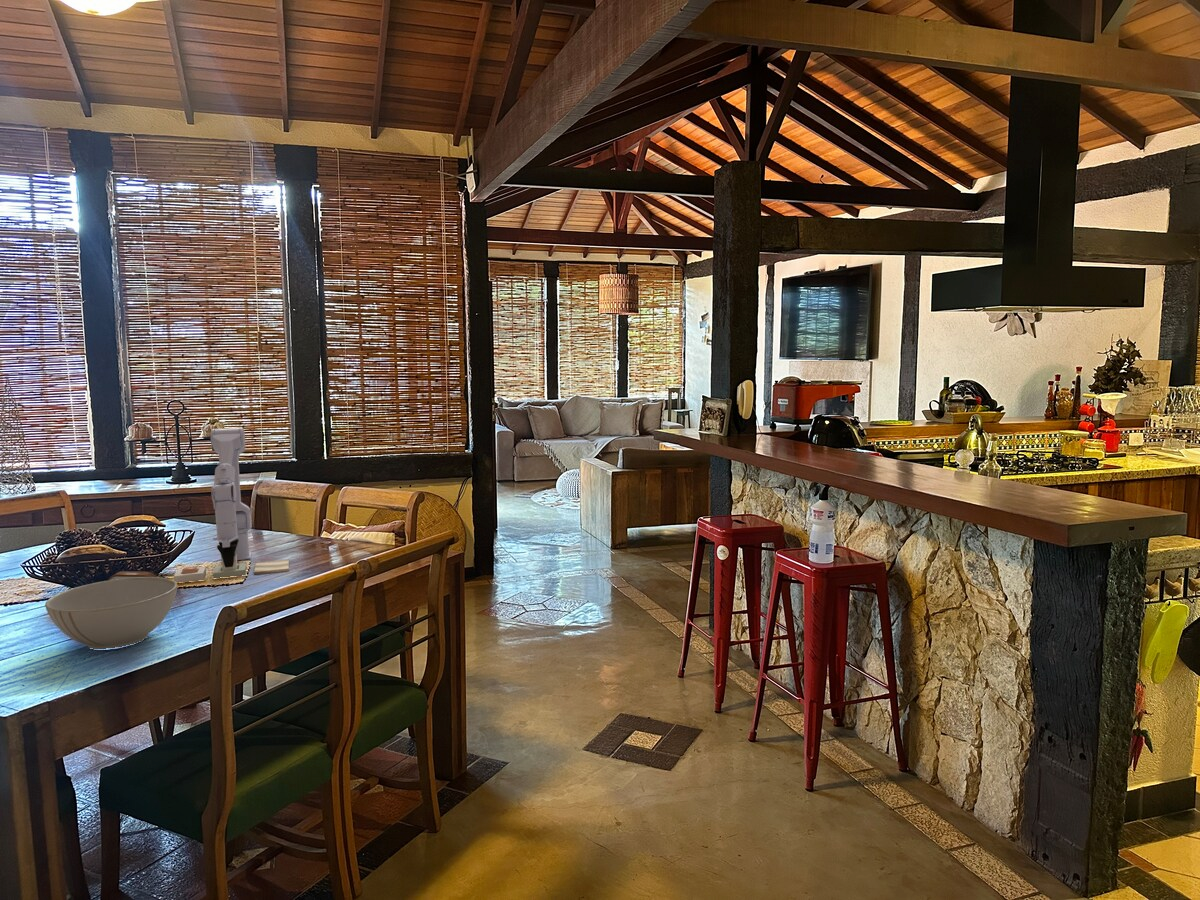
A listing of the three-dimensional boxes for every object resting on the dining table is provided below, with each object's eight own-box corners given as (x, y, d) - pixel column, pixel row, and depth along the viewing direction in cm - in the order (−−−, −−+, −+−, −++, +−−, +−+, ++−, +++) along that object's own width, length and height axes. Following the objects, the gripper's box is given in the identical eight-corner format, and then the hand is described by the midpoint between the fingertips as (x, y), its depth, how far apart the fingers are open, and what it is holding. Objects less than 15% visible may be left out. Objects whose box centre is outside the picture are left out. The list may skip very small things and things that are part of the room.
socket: (215, 572, 250) (215, 566, 250) (246, 568, 253) (246, 562, 253) (213, 579, 241) (212, 573, 241) (245, 576, 245) (244, 569, 244)
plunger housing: (177, 577, 245) (177, 569, 244) (206, 574, 247) (205, 566, 247) (174, 584, 237) (173, 576, 237) (203, 581, 240) (203, 573, 240)
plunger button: (184, 576, 243) (183, 567, 243) (198, 575, 245) (197, 565, 244) (182, 580, 240) (181, 570, 239) (197, 578, 241) (196, 569, 241)
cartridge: (223, 573, 248) (222, 551, 247) (237, 571, 250) (236, 550, 249) (222, 576, 245) (221, 554, 244) (237, 575, 246) (235, 553, 245)
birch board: (255, 565, 257) (255, 562, 257) (288, 561, 261) (288, 559, 261) (254, 574, 246) (254, 572, 246) (288, 570, 250) (288, 568, 249)
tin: (164, 600, 222) (161, 570, 221) (156, 603, 219) (154, 573, 218) (114, 599, 224) (111, 570, 223) (106, 603, 221) (103, 573, 220)
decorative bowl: (30, 669, 173) (24, 616, 172) (75, 629, 199) (70, 582, 198) (165, 655, 180) (161, 603, 179) (192, 617, 206) (188, 572, 205)
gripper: (214, 519, 250) (217, 561, 252) (209, 528, 237) (213, 572, 239) (238, 516, 253) (241, 558, 255) (235, 525, 240) (239, 569, 241)
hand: (229, 565), depth 247 cm, fingers closed on cartridge, 4 cm apart
